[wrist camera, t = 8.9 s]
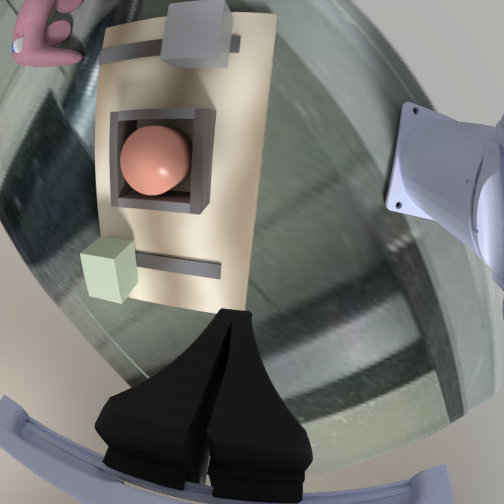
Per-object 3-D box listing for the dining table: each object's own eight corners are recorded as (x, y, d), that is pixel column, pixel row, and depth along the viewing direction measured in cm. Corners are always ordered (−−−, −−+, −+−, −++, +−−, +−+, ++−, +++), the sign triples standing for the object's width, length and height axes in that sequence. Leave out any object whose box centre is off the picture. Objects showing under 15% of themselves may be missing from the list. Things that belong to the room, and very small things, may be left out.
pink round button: (198, 125, 15) (185, 125, 13) (194, 187, 17) (182, 197, 15) (140, 125, 16) (120, 127, 13) (139, 183, 17) (121, 193, 15)
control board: (277, 21, 13) (276, -2, 10) (246, 306, 23) (240, 338, 19) (116, 32, 14) (86, 20, 10) (118, 284, 24) (97, 309, 20)
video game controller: (97, -19, 12) (36, -28, 6) (121, -33, 10) (52, -48, 4) (66, 69, 16) (-1, 71, 11) (83, 66, 15) (5, 65, 9)
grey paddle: (233, 18, 12) (224, -1, 9) (227, 68, 13) (216, 57, 11) (186, 19, 12) (169, 3, 9) (179, 68, 14) (159, 59, 11)
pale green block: (134, 240, 19) (114, 259, 16) (138, 281, 21) (121, 303, 18) (101, 236, 19) (80, 253, 16) (107, 275, 21) (89, 295, 18)
